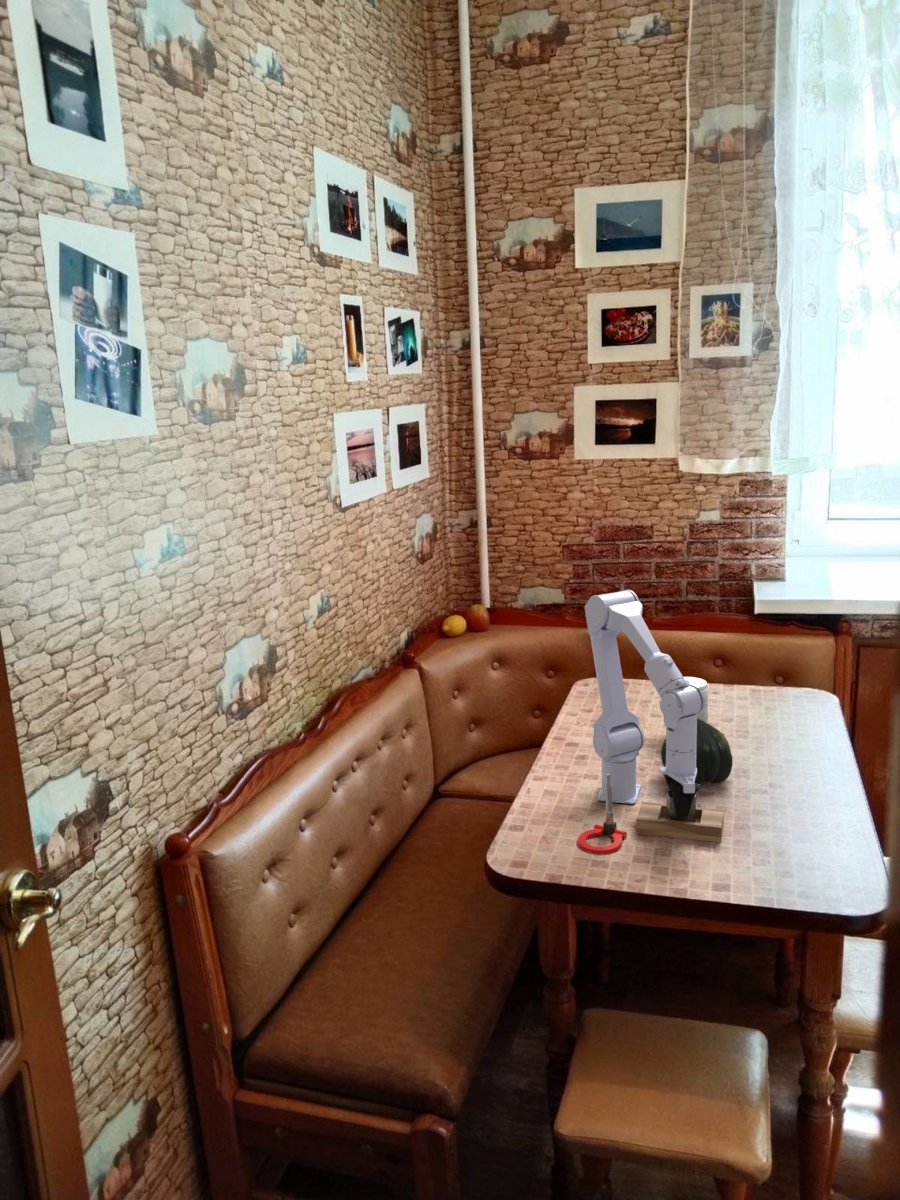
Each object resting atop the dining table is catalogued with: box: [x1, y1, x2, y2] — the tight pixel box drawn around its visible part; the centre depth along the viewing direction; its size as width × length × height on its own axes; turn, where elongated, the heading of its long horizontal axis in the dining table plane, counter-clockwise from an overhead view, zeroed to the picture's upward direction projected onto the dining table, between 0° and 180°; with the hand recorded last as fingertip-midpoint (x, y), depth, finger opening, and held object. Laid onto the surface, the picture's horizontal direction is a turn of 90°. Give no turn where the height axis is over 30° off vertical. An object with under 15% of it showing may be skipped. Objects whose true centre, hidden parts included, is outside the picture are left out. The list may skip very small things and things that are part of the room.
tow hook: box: [577, 774, 628, 855], centre depth 183 cm, size 8×13×9 cm
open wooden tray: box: [635, 801, 725, 843], centre depth 189 cm, size 8×16×3 cm, turn 71°
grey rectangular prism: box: [666, 790, 697, 823], centre depth 188 cm, size 3×5×6 cm, turn 90°
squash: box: [660, 718, 733, 786], centre depth 210 cm, size 14×15×15 cm
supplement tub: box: [683, 676, 709, 724], centre depth 233 cm, size 10×10×15 cm
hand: (680, 812), depth 188 cm, fingers closed on grey rectangular prism, 3 cm apart
